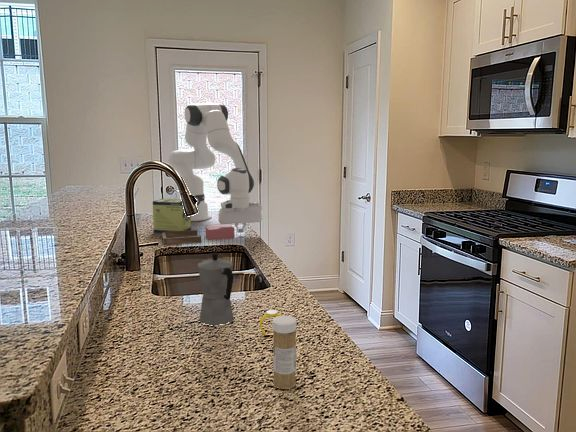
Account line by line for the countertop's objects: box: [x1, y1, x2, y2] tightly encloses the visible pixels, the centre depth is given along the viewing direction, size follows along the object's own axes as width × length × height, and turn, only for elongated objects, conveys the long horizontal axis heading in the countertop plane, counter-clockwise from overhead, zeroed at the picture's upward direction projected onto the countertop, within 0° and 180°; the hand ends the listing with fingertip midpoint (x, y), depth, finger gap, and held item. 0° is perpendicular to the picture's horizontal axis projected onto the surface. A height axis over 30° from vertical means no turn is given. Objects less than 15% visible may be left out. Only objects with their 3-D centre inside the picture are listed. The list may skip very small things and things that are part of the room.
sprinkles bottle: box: [271, 315, 298, 390], centre depth 90 cm, size 5×5×13 cm
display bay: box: [161, 229, 202, 245], centre depth 216 cm, size 15×16×2 cm
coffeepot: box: [197, 252, 235, 325], centre depth 121 cm, size 15×9×18 cm, turn 35°
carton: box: [204, 224, 236, 241], centre depth 221 cm, size 9×12×5 cm
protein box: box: [152, 198, 192, 234], centre depth 233 cm, size 10×16×16 cm
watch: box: [259, 309, 283, 335], centre depth 114 cm, size 6×3×6 cm, turn 101°
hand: (240, 232), depth 224 cm, fingers closed
